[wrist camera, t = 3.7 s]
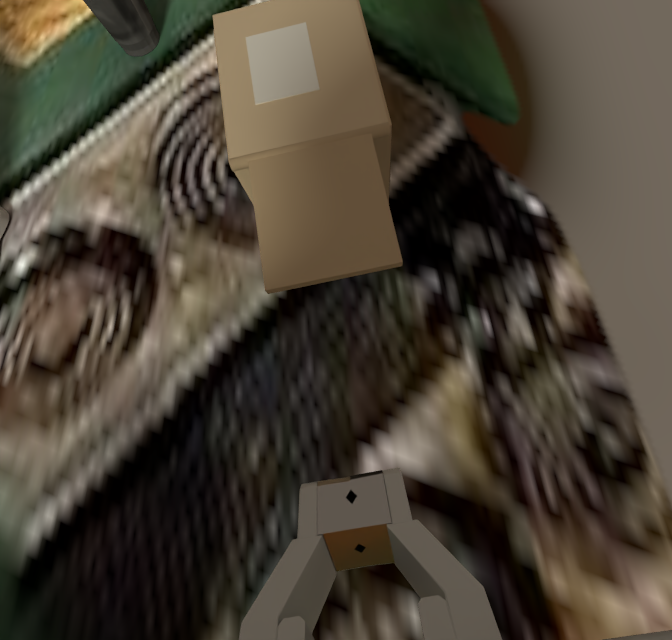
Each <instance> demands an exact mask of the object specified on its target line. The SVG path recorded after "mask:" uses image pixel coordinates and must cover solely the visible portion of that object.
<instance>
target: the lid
mask: <svg viewBox="0 0 672 640" xmlns="http://www.w3.org/2000/svg"><path fill="white" fill-rule="evenodd" d="M213 22H214V31H215V39H216V48H217V57H218V65H219V74H220V82H221V91H222V100H223V108H224V117H225V125H226V134H227V143H228V151H229V163H230V167H231V169H232V171H233V172H234V171H238V170H242V169H247V168H249V171H250V179H251V186H252V194H253V202H254V209H255V217H256V224H257V232H258V239H259V247H260V255H261V262H262V270H263V277H264V285H265V291H266V292H267V293H268V294H270V293H275V292H280V291H285V290H289V289H294V288H299V287H304V286H309V285H313V284H318V283H323V282H328V281H333V280H338V279H342V278H347V277H352V276H357V275H362V274H367V273H371V272H376V271H381V270H386V269H391V268H395V267H400V266H402V264H403V261H402V257H401V253H400V249H399V245H398V240H397V236H396V232H395V228H394V224H393V220H392V216H391V212H390V208H389V204H388V200H387V196H386V191H385V187H384V183H383V179H382V175H381V171H380V167H379V163H378V159H377V155H376V151H375V146H374V142H373V139H378V138H382V137H387V136H390V125H389V122H388V119H387V115H386V111H385V107H384V104H383V100H382V96H381V92H380V88H379V85H378V81H377V77H376V73H375V69H374V66H373V62H372V58H371V54H370V50H369V46H368V43H367V39H366V35H365V31H364V27H363V24H362V20H361V16H360V12H359V8H358V5H357V1H356V0H271V1H267V2H263V3H259V4H255V5H251V6H247V7H243V8H239V9H235V10H231V11H227V12H224V13H220V14H216V15H213Z"/></svg>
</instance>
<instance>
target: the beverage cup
mask: <svg viewBox="0 0 672 640" xmlns="http://www.w3.org/2000/svg"><path fill="white" fill-rule="evenodd" d="M83 1H84V2H85V3H86V4H87V6H88V7H89V8H90V9H91V11H92V12H93V13H94V14H95V16H96V17H97V18H98V19H99V21H100V22H101V23H102V24H103V26H104V27H105V28H106V29H107V31H108V32H109V33H110V34H111V36H112V37H113V38H114V39H115V41H117V42H118V43H119V45H120V46H121V47H122V48H123V49H124V50H125V52H126V53H127V54H129V55H130V56H143V55H145V54H148V53H149V52H151V51H152V50H153V49H154V48H155V47H156V46H157V44H158V42H159V33H158V31H157V29H156V27H155V25H154V22H153V19H152V17H151V15H150V13H149V10H148V8H147V6H146V4H145V2H144V0H83Z"/></svg>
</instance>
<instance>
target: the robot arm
mask: <svg viewBox="0 0 672 640" xmlns="http://www.w3.org/2000/svg"><path fill="white" fill-rule="evenodd" d="M8 222H9V214H8V212H7V211H6V210H5V209H3V208H2V207H1V206H0V239H1V237H2V235H3V233H4V231H5V229H6V227H7V225H8ZM387 563H395V564H396V566H397V567H398V568H399V570H400V571H401V572H402V574H403V575H404V576H405V578H406V579H407V580H408V582H409V583H410V584H411V586H412V587H413V588H414V590H415V591H416V593H417V594H418V595H419V597H420V598H421V600H420V602H419V604H418V608H419V614H420V619H421V625H422V630H423V636H424V640H502V638H501V636H500V633H499V630H498V627H497V624H496V621H495V618H494V616H493V613H492V610H491V607H490V604H489V601H488V598H487V595H486V593H485V590H484V587H483V586H482V585H481V584H480V583H479V582H478V581H477V580H476V579H475V578H474V577H473V576H472V575H471V574H470V573H469V572H468V571H467V570H466V569H465V568H464V567H463V566H462V565H461V564H460V563H459V562H458V560H457V559H456V558H455V557H454V556H453V555H452V554H451V553H450V552H449V551H448V550H447V549H446V548H445V547H444V546H443V545H442V544H441V543H440V542H439V541H438V540H437V539H436V538H435V537H434V536H433V535H432V534H431V533H430V532H429V531H428V530H427V529H426V528H425V527H424V526H423V525H422V524H421V523H420V522H419V521H418V520H412V517H411V512H410V508H409V504H408V499H407V495H406V491H405V486H404V482H403V478H402V474H401V470H400V468H394V469H389V470H383V471H382V470H380V471H375V472H370V473H364V474H359V475H354V476H350V477H346V478H339V479H332V480H325V481H318V482H312V483H306V484H301V487H300V495H299V517H298V538H297V539H294V540H292V541H291V543H290V545H289V546H288V548H287V550H286V551H285V553H284V555H283V556H282V558H281V559H280V561H279V563H278V564H277V566H276V568H275V569H274V571H273V572H272V574H271V576H270V577H269V579H268V581H267V582H266V584H265V585H264V587H263V589H262V590H261V592H260V594H259V595H258V597H257V598H256V600H255V602H254V603H253V605H252V607H251V608H250V610H249V611H248V613H247V615H246V616H245V618H244V620H243V621H242V624H241V630H240V637H239V640H314V638H313V636H312V631H313V629H314V627H315V624H316V622H317V619H318V617H319V615H320V612H321V610H322V607H323V605H324V603H325V600H326V598H327V595H328V593H329V591H330V588H331V586H332V583H333V581H334V579H335V576H336V572H337V571H342V570H348V569H353V568H358V567H364V566H371V565H379V564H387ZM604 640H672V630H669V631H661V632H654V633H647V634H640V635H632V636H625V637H618V638H611V639H604Z"/></svg>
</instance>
